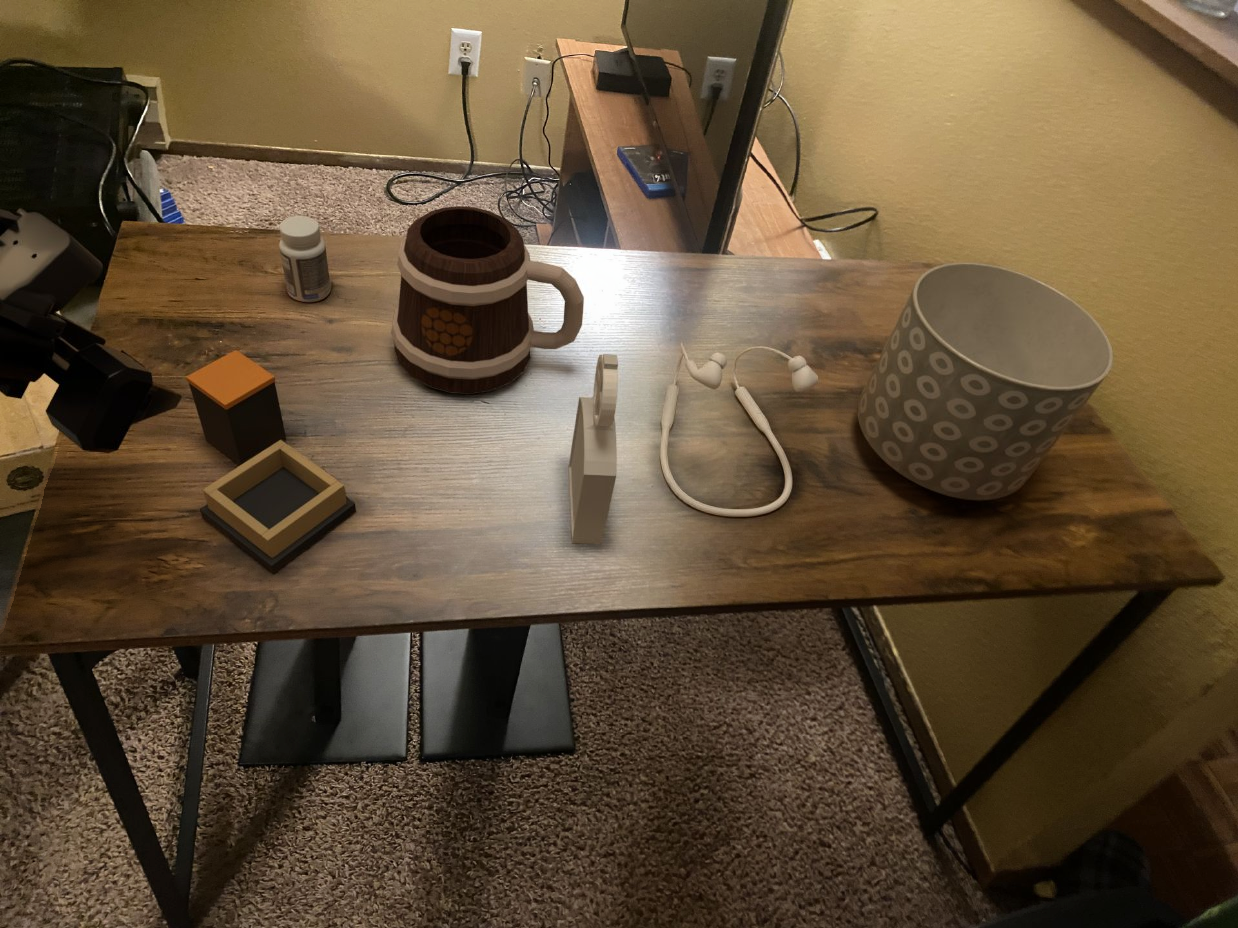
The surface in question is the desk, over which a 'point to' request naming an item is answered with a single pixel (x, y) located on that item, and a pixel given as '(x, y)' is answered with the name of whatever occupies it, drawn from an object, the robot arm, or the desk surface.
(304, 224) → the pill bottle
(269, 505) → the base pad
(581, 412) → the gravestone
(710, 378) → the earphone
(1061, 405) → the planter
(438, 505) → the desk surface
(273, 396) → the orange rectangular block
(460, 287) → the mug
